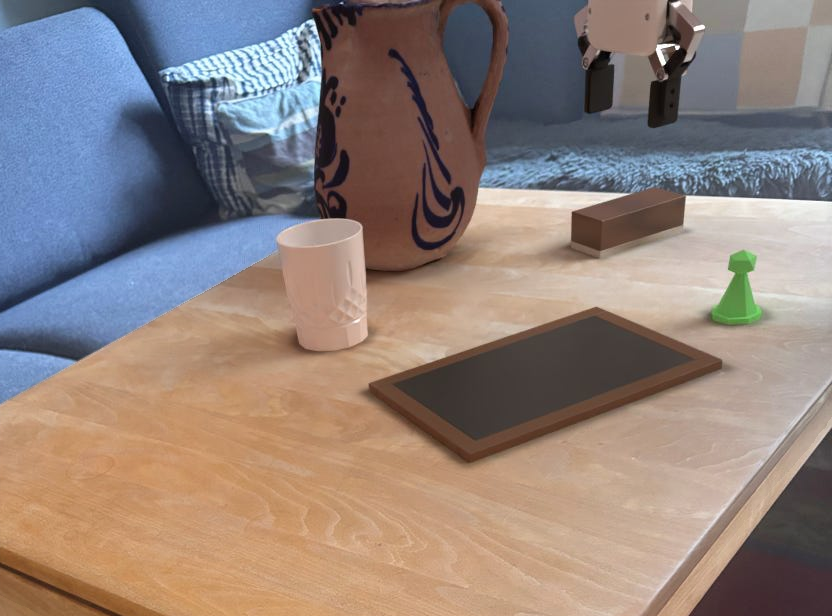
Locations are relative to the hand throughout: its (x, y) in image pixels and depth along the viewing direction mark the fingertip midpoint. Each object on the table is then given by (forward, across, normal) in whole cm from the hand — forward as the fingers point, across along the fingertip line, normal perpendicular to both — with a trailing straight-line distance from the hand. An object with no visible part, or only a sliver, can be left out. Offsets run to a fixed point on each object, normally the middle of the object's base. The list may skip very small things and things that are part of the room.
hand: (629, 117), depth 97 cm
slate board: (+12, -23, +27) cm, 37 cm away
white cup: (+12, -2, +36) cm, 38 cm away
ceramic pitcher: (+13, +13, +18) cm, 26 cm away
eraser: (+12, -1, 0) cm, 12 cm away
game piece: (+12, -24, +7) cm, 27 cm away
